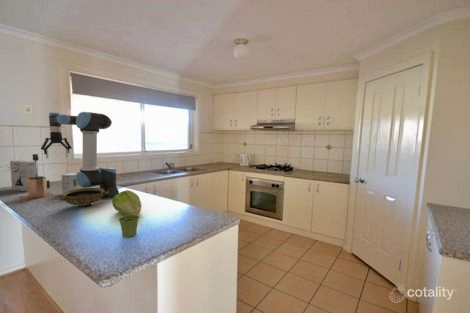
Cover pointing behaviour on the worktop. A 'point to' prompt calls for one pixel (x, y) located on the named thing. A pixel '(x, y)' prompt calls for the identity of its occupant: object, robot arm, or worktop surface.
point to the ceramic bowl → (83, 196)
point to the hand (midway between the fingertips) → (57, 157)
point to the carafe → (37, 187)
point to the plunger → (35, 158)
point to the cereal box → (21, 173)
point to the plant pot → (129, 225)
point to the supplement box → (69, 182)
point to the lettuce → (127, 203)
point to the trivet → (36, 198)
